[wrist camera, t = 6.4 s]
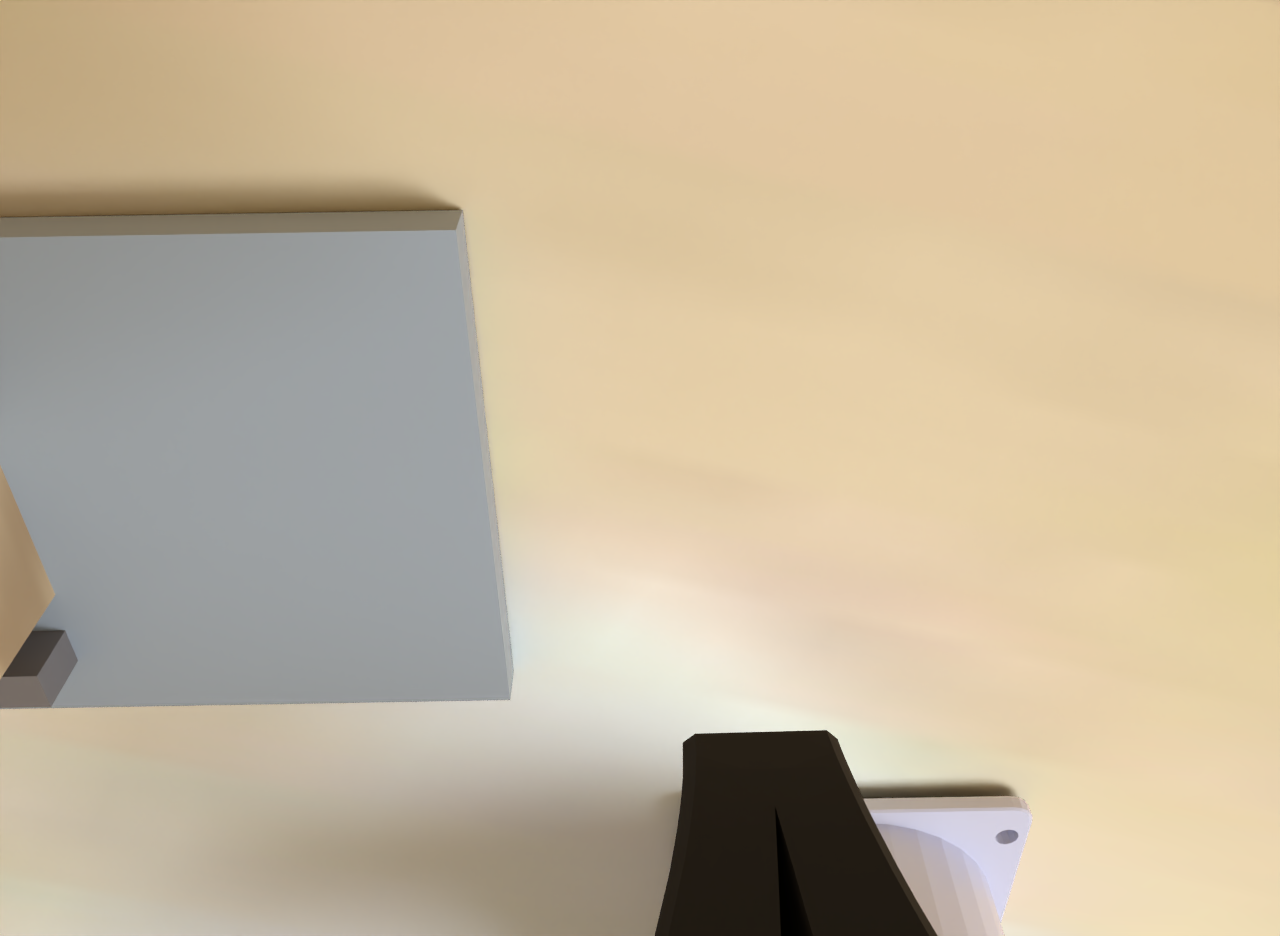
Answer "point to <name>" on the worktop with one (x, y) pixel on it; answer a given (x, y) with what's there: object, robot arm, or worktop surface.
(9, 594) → the maple block
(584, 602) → the worktop surface
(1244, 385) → the worktop surface
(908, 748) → the worktop surface
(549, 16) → the worktop surface
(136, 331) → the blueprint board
